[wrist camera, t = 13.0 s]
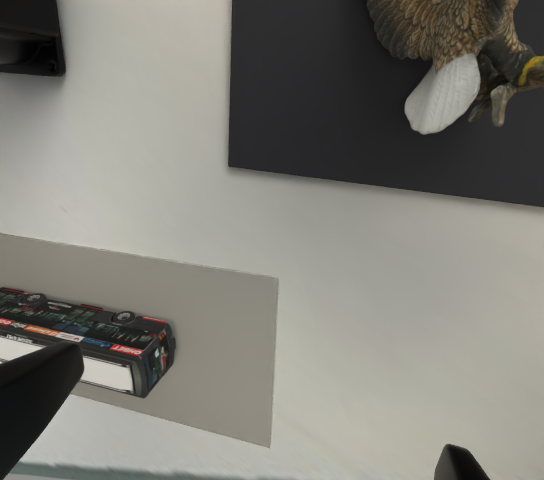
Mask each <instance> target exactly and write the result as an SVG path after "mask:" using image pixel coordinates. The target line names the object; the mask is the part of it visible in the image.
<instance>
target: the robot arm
mask: <svg viewBox="0 0 544 480" xmlns="http://www.w3.org/2000/svg"><path fill="white" fill-rule="evenodd" d="M54 63H55V66H56V69H55V68H54ZM0 72H4V73H16V74H29V75H42V76H54V77H61V76H63V75H64V74H65V61H64V54H63V47H62V40H61V33H60V26H59V19H58V12H57V5H56V0H0ZM83 373H84V361H83V355H82V350H81V346H80V345H79V344H78V343H74V342H71V341H61V342H58V343H55V344H53V345H50V346H47V347H45V348H42V349H39V350H36V351H34V352H31V353H28V354H26V355H23V356H20V357H18V358H15V359H12V360H10V361H7V362H4V363H2V364H0V480H3V479H4V478H5V476H6V475H7V474H8V473H9V472H10V471H11V469H12V468H13V467H14V466H15V465H16V463H17V462H18V461H19V460H20V459H21V457H22V456H23V455H24V454H25V453H26V451H27V450H28V449H29V448H30V447H31V445H32V444H33V443H34V442H35V441H36V439H37V438H38V437H39V436H40V434H41V433H42V432H43V431H44V429H45V428H46V427H47V425H48V424H49V423H50V421H51V420H52V418H53V417H54V416H55V414H56V413H57V411H58V410H59V408H60V407H61V406H62V404H63V403H64V401H65V400H66V399H67V397H68V396H69V394H70V393H71V391H72V390H73V389H74V387H75V386H76V384H77V383H78V382H79V380H80V379H81V377H82V375H83ZM434 480H490V479H489V477H488V476H487V474H486V473H485V472H484V470H483V469H482V468H481V466H480V465H479V463H478V462H477V461H476V459H475V458H474V457H473V455H472V454H471V453H470V452H469V451H468V450H467V449H465V448H462V447H459V446H455V445H451V444H447V445H445V446H444V448H443V451H442V453H441V456H440V458H439V461H438V464H437V466H436V469H435V475H434Z"/></svg>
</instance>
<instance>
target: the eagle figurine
mask: <svg viewBox="0 0 544 480" xmlns="http://www.w3.org/2000/svg"><path fill="white" fill-rule="evenodd" d="M518 1H519V0H367V8H368V10H369V12H370V17H371V19H372V20H373V21H374V22H375V25H374V30H375V32H376V33H377V39H378V40H379V41H380V42H381V44H382V46H383V47H384V48H386V49H388V50H389V51H390V54H391V56H393V57H398V58H399V59H401V60H402V59H404V58H405V57H407V56H408V57H410V58H411V59H416V58H418V57H419V56H421V58H422V59H423V60H431V59H433V65H432V66H431V68H430V70H429V71H428V73H427V74H426V75H425V77H424V78H423V79H422V81H421V82H420V83H419V85H418V86H417V87H416V88H415V89H414V91H413V92H412V93H411V94H410V96H409V97H408V98H407V99H406V103H405V114H406V116H407V118H408V120H409V121H410V126H411V128H412V129H413V130H415V131H418V132H420V133H421V134H424V135H426V134H429V133H437V132H440V131H442V130H443V129H444V128H446V127H447V126H448V125H450V124H452V123H453V122H454V121H455V120H456V119H457V118H458V117H460V116H461V115H463V114H464V113H465V112H466V110H467V109H468V108H469V106H470V104H471V103H472V102H473V101H474V99H476V100H480V102H479V103H478V104H477V106H476V107H475V108H474V109H473V110H472V111H471V113H470V115H469V118H468V121H469V122H473V121H476V120H477V119H478V118H479V117H480V116H481V115H482V113H483V112H484V111H485V110H487V109H489V108H491V107H492V123H493V125H494V126H496V127H501V126H502V125H503V123H504V117H505V108H506V104H507V102H508V100H509V99H511V98H512V97H513V96H514V94H515V93H516V92H521V91H525V90H530V89H535V88H540V87H544V56H536V55H535V54H534V52H533V50H532V48H531V47H530V46H528V45H526V44H523V43H521V42H520V41H519V40H518V37H517V34H516V32H515V28H514V23H513V10H514V9H515V7H516V5H517V3H518ZM490 59H491V60H492V63H491V61H490Z"/></svg>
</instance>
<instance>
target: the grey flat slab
mask: <svg viewBox="0 0 544 480" xmlns="http://www.w3.org/2000/svg"><path fill="white" fill-rule="evenodd" d="M277 299H278V277H271V276H265V275H259V274H252V273H246V272H240V271H233V270H227V269H221V268H214V267H208V266H202V265H195V264H189V263H183V262H176V261H170V260H164V259H157V258H151V257H145V256H138V255H132V254H125V253H119V252H113V251H106V250H100V249H94V248H87V247H81V246H75V245H68V244H62V243H56V242H49V241H43V240H37V239H30V238H24V237H18V236H11V235H5V234H0V361H1V362H2V363H4V362H7V361H10V360H12V359H15V358H18V357H20V356H23V355H26V354H28V353H31V352H34V351H36V350H39V349H42V348H45V347H47V346H50V345H53V344H55V343H58V342H61V341H71V342H74V343H78V344H79V345H80V346H81V350H82V355H83V361H84V373H83V375H82V377H81V379H80V380H79V382H78V383H77V384H76V386H75V387H74V389H73V390H72V391H71V393H70V394H74V395H77V396H81V397H85V398H88V399H92V400H96V401H99V402H103V403H107V404H110V405H114V406H118V407H121V408H125V409H129V410H132V411H136V412H140V413H143V414H147V415H151V416H154V417H158V418H162V419H165V420H169V421H173V422H176V423H180V424H184V425H187V426H191V427H195V428H198V429H202V430H206V431H209V432H213V433H217V434H220V435H224V436H228V437H231V438H235V439H239V440H242V441H246V442H250V443H253V444H257V445H261V446H264V447H268V448H270V446H271V425H272V404H273V383H274V362H275V341H276V320H277Z"/></svg>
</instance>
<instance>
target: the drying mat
mask: <svg viewBox="0 0 544 480" xmlns="http://www.w3.org/2000/svg"><path fill="white" fill-rule="evenodd" d="M513 23H514V28H515V32H516V34H517V37H518V40H519V41H520V42H521V43H523V44H526V45H528V46H530V47H531V48H532V50H533V52H534V54H535V55H536V56H544V0H519V1H518V3H517V5H516V7H515V9H514V10H513ZM374 25H375V22H374V21H373V20H372V19H371V17H370V12H369V10H368V8H367V0H232V36H231V78H230V119H229V161H228V166H229V167H236V168H244V169H252V170H259V171H267V172H275V173H283V174H290V175H298V176H306V177H314V178H322V179H329V180H337V181H345V182H353V183H360V184H368V185H376V186H384V187H391V188H399V189H407V190H415V191H423V192H430V193H438V194H446V195H454V196H461V197H469V198H477V199H485V200H493V201H500V202H508V203H516V204H524V205H531V206H539V207H544V87H540V88H535V89H530V90H525V91H521V92H516V93H515V94H514V96H513V97H512V98H511V99H509V100H508V102H507V104H506V108H505V117H504V123H503V125H502V126H501V127H496V126H494V125H493V123H492V107H491V108H489V109H487V110H485V111H484V112H483V113H482V115H481V116H480V117H479V118H478V119H477V120H476V121H473V122H469V121H468V118H469V115H470V113H471V111H472V110H473V109H474V108H475V107H476V106H477V104H478V103H479V102H480V100H476V99H474V101H473V102H472V103H471V104H470V106H469V108H468V109H467V110H466V112H465V113H464V114H463V115H461V116H460V117H458V118H457V119H456V120H455V121H454V122H453V123H452V124H450V125H448V126H447V127H446V128H444V129H443V130H442V131H440V132H437V133H429V134H426V135H424V134H421V133H420V132H418V131H415V130H413V129H412V128H411V126H410V121H409V120H408V118H407V116H406V114H405V103H406V99H407V98H408V97H409V96H410V94H411V93H412V92H413V91H414V89H415V88H416V87H417V86H418V85H419V83H420V82H421V81H422V79H423V78H424V77H425V75H426V74H427V73H428V71H429V70H430V68H431V66H432V65H433V59H431V60H423V59H422V58H421V56H419V57H418V58H416V59H411V58H410V57H408V56H407V57H405V58H404V59H402V60H401V59H399V58H398V57H393V56H391V54H390V51H389V50H388V49H386V48H384V47H383V46H382V44H381V42H380V41H379V40H378V39H377V33H376V32H375V30H374ZM490 61H491V63H492V60H491V59H490Z"/></svg>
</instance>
